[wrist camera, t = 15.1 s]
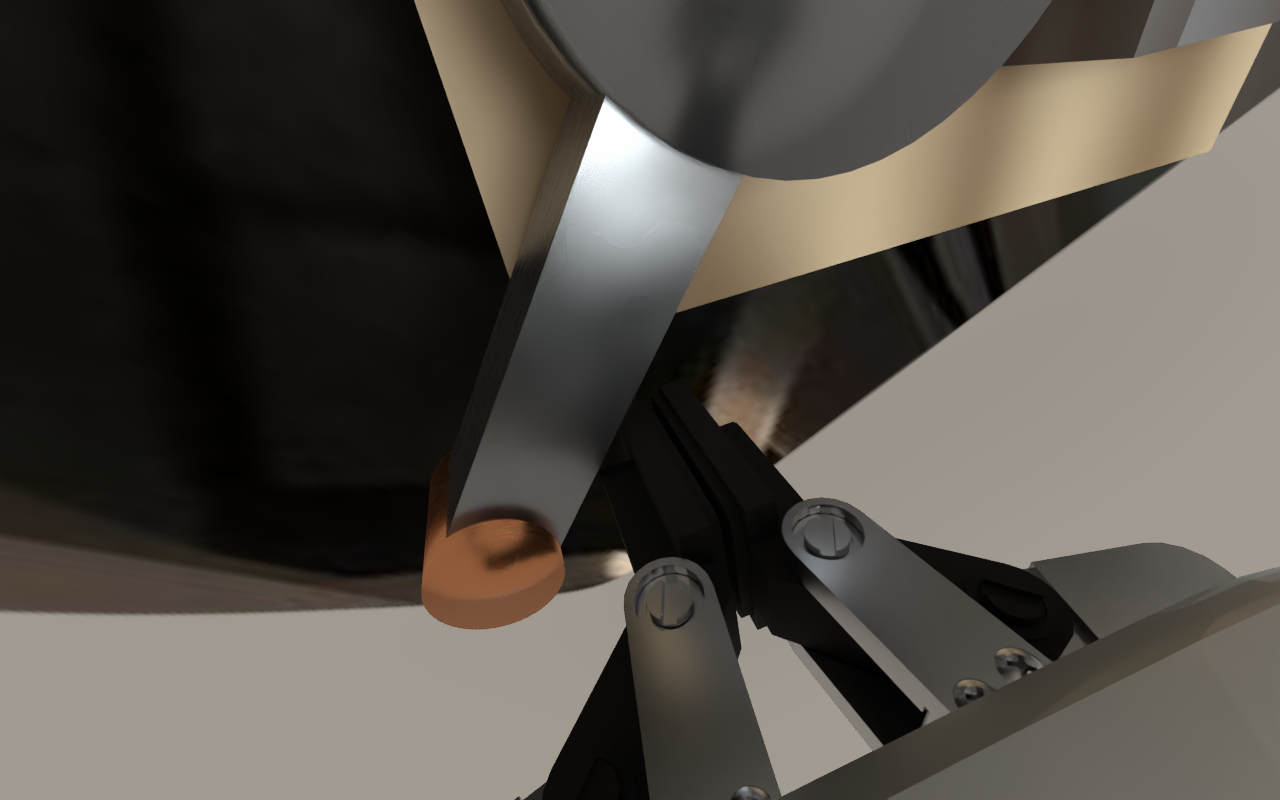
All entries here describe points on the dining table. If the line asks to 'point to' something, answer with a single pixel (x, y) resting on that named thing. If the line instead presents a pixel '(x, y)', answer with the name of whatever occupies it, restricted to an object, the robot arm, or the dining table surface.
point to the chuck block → (917, 174)
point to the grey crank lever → (661, 229)
